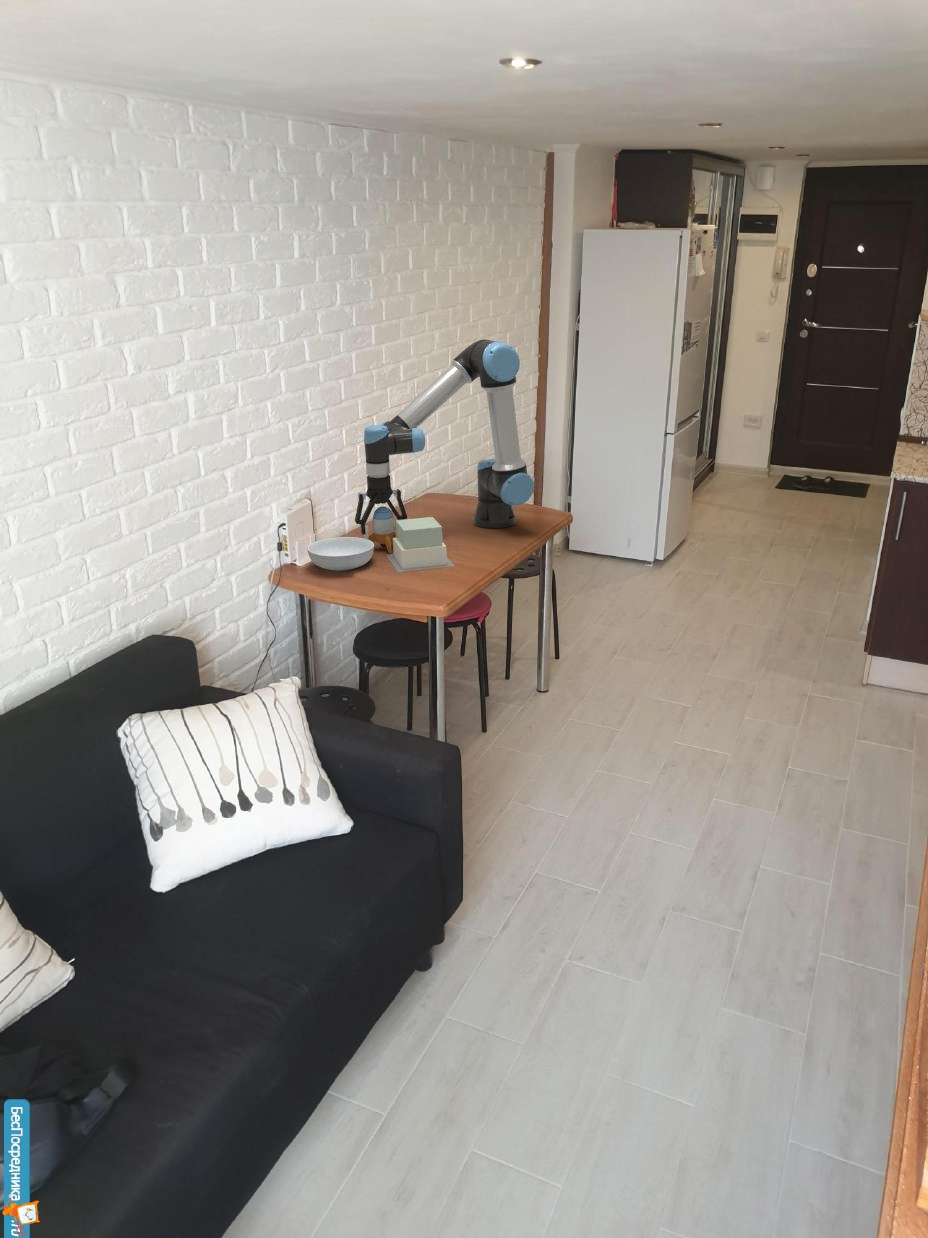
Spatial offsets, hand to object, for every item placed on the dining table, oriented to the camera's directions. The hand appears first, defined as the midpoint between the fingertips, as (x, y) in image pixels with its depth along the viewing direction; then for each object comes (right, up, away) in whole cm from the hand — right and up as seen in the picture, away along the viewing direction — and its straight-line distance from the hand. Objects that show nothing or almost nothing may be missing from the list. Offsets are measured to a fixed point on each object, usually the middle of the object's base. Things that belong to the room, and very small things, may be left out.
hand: (382, 541), depth 311 cm
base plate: (+13, -8, -11) cm, 19 cm away
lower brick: (+13, -7, -11) cm, 18 cm away
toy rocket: (0, -2, +1) cm, 2 cm away
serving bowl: (-12, -9, -12) cm, 19 cm away
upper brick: (+13, -1, -14) cm, 19 cm away
